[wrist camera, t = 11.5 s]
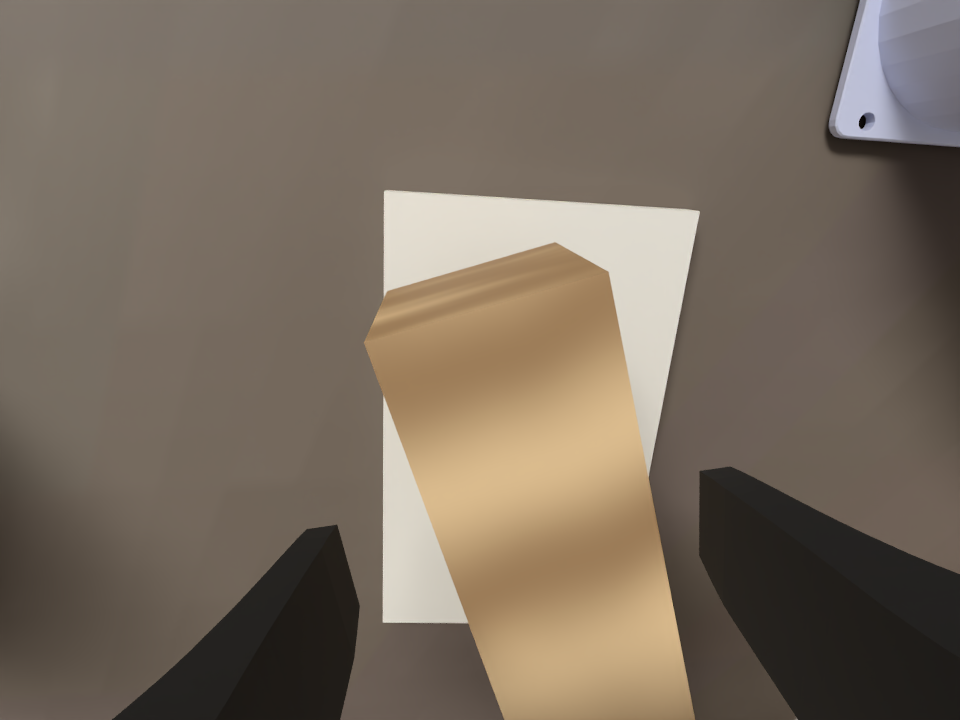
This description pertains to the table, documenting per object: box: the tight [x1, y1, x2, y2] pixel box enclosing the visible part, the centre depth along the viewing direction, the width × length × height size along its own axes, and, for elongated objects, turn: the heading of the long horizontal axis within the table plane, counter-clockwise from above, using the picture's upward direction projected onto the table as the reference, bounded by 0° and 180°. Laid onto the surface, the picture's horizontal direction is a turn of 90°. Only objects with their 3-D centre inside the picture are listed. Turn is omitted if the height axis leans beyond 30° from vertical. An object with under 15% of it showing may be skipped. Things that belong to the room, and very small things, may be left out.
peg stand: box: [383, 190, 700, 623], centre depth 19 cm, size 10×17×3 cm, turn 176°
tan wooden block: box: [364, 242, 695, 720], centre depth 15 cm, size 14×5×5 cm, turn 15°
